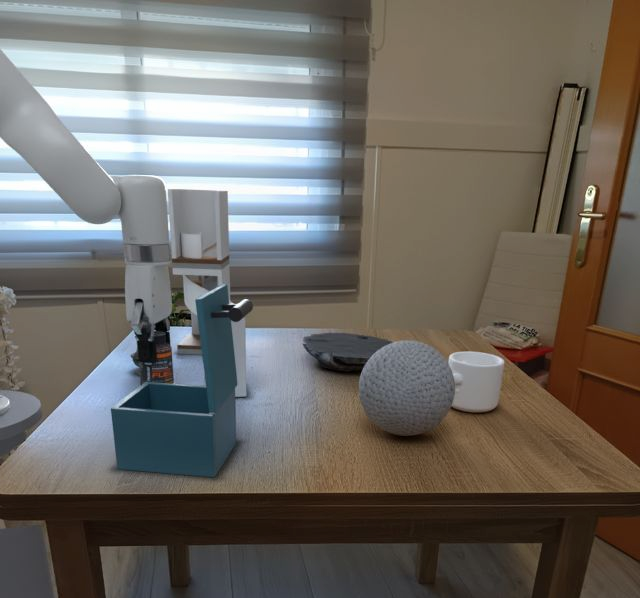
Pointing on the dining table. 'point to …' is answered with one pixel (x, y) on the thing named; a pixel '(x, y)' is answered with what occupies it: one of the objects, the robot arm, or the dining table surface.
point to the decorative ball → (406, 388)
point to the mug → (476, 380)
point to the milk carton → (239, 355)
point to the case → (173, 430)
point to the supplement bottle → (158, 363)
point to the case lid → (219, 342)
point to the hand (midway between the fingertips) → (155, 356)
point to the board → (343, 349)
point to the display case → (199, 249)
